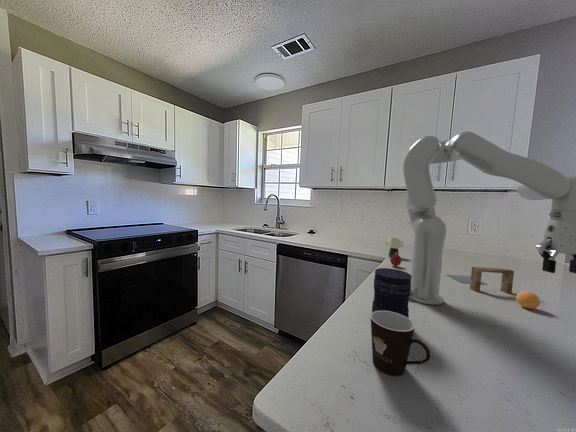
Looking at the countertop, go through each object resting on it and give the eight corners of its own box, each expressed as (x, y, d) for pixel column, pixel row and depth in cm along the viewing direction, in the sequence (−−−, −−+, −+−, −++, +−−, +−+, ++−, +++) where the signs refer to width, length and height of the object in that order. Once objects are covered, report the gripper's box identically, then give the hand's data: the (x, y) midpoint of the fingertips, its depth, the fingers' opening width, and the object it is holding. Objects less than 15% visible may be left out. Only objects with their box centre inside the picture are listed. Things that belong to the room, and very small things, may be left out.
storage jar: (391, 335, 61) (396, 280, 61) (363, 318, 70) (367, 269, 69) (415, 327, 66) (419, 276, 65) (386, 312, 75) (390, 266, 74)
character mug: (403, 258, 157) (405, 238, 156) (400, 259, 151) (402, 239, 150) (386, 255, 164) (388, 236, 163) (383, 256, 158) (384, 237, 157)
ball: (526, 311, 81) (528, 294, 81) (510, 303, 87) (512, 288, 87) (544, 312, 81) (546, 295, 80) (527, 304, 87) (529, 289, 86)
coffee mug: (361, 352, 54) (364, 310, 53) (396, 352, 55) (399, 310, 54) (386, 393, 42) (390, 340, 42) (431, 392, 43) (435, 340, 42)
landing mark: (461, 282, 109) (461, 282, 109) (445, 274, 121) (445, 274, 121) (487, 284, 108) (487, 284, 108) (468, 276, 120) (468, 275, 120)
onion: (402, 268, 129) (403, 254, 129) (391, 267, 130) (392, 253, 130) (399, 265, 135) (400, 252, 135) (388, 264, 136) (389, 251, 136)
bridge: (511, 293, 98) (514, 270, 97) (474, 291, 99) (477, 268, 98) (505, 290, 101) (507, 268, 100) (469, 288, 102) (471, 266, 101)
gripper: (552, 216, 69) (545, 274, 70) (614, 219, 68) (606, 278, 69) (527, 215, 76) (522, 267, 77) (583, 217, 76) (576, 270, 77)
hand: (562, 272), depth 73 cm, fingers open, 7 cm apart
